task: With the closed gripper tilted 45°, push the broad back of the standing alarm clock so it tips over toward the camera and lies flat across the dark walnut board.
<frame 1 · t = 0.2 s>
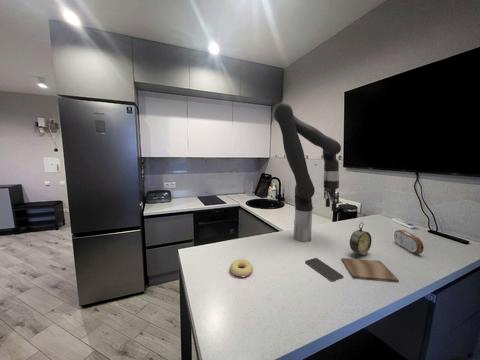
hand: (330, 208, 106), 18 cm above the worktop, tool pointing down, fingers open, 8 cm apart
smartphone: (323, 270, 82), on the worktop
walnut board: (367, 270, 81), on the worktop
donut: (241, 271, 81), on the worktop
alarm clock: (358, 254, 93), on the worktop
tin: (406, 249, 98), on the worktop
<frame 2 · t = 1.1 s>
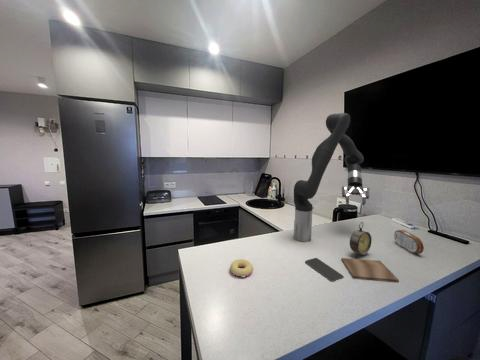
hand: (355, 203, 108), 20 cm above the worktop, tool tilted 45°, fingers open, 7 cm apart
nothing on the worktop moved.
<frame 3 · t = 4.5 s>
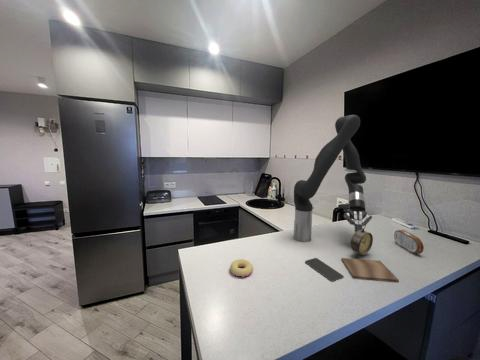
hand: (358, 232, 95), 10 cm above the worktop, tool tilted 45°, fingers closed
alarm clock: (358, 254, 93), on the worktop, touching gripper
everything else where it was.
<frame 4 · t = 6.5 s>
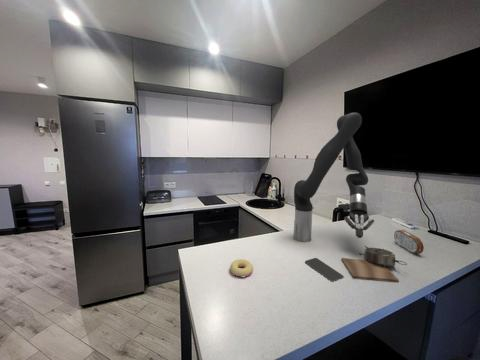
hand: (359, 237, 90), 10 cm above the worktop, tool tilted 45°, fingers closed
alarm clock: (363, 250, 91), point 3 cm above the worktop, touching walnut board
everything else where it was.
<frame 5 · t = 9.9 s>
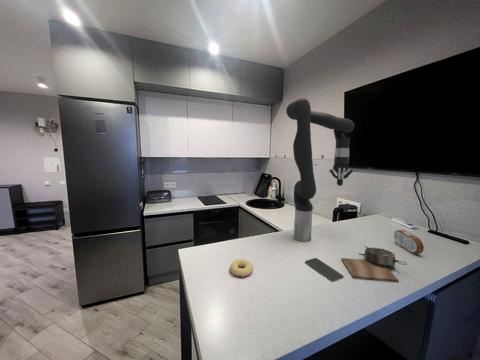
hand: (339, 185, 115), 29 cm above the worktop, tool pointing down, fingers closed
alarm clock: (363, 250, 91), point 3 cm above the worktop, touching walnut board
everything else where it was.
at the end: alarm clock tilted 85°; alarm clock touching worktop, walnut board; alarm clock inside the target area (1.6 cm from its centre), point 2.9 cm above the worktop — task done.
